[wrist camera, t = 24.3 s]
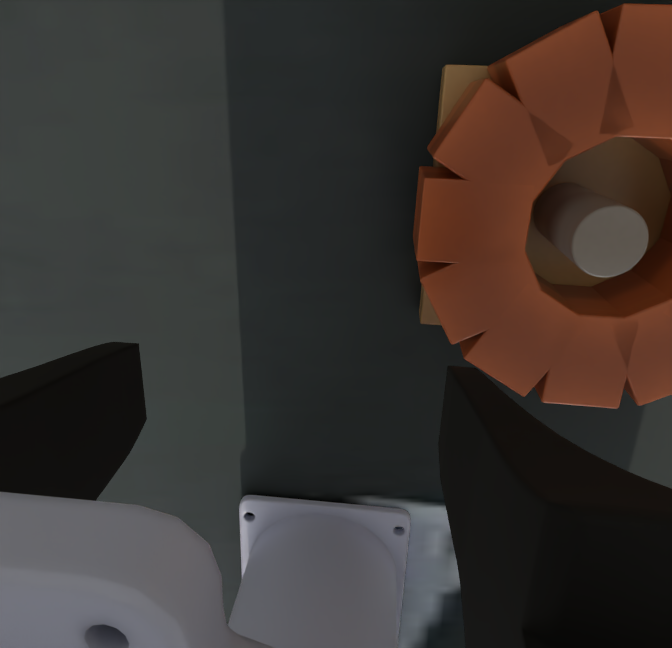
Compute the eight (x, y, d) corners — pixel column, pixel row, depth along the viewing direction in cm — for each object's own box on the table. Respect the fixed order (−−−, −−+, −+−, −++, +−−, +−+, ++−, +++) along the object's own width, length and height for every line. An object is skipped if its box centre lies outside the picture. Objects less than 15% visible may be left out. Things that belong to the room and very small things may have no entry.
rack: (652, 328, 22) (735, 401, 16) (418, 313, 22) (426, 379, 17) (719, 75, 18) (851, 64, 13) (442, 66, 19) (460, 52, 14)
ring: (712, 376, 21) (765, 422, 18) (401, 352, 22) (402, 392, 19) (827, 28, 17) (922, 11, 14) (433, 14, 17) (441, -3, 14)
